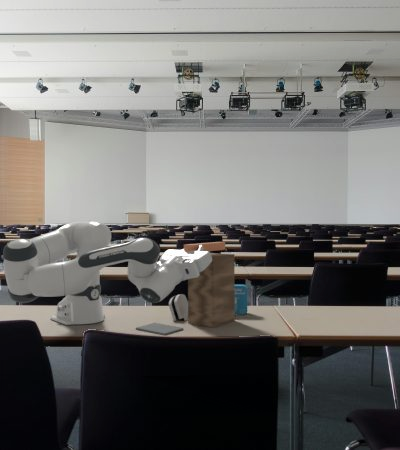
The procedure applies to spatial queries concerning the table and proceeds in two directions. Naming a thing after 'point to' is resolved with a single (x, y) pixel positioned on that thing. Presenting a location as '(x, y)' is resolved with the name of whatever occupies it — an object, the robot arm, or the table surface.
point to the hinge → (179, 307)
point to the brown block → (213, 293)
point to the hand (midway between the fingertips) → (196, 246)
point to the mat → (159, 328)
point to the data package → (240, 299)
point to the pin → (206, 246)
